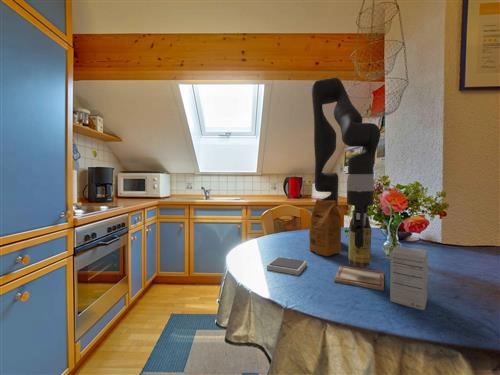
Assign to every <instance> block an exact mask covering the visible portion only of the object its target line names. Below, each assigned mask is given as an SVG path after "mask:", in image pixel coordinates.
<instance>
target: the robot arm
mask: <svg viewBox="0 0 500 375" xmlns="http://www.w3.org/2000/svg"><path fill="white" fill-rule="evenodd" d="M311 98H312V100H311V101H312V109H313V127H314V128H313V130H314V131H313V136H314V137H313V146H314V188H315V189H314V190H315V191H316V192H318V193H320V192H321V193H330V194H329V195H328V196H326V197H324V198H321V199H320V198H319V199H320V200H322V201H337V204H336V206H337V209H338V210H339V205H338V204H339V200H338V199H339V197H338V196H339V192H338V191H339V175H338V173H336V172H323V171H324V167H325V165H326V164H327V163H328V161H329V160H330V159H331V158H332V156H333V154H334V153H335V152H336V148H337V133H336V132H337V131H336V130H335V128H334V127H333V126H332V125H331V123H330V122H329V120H328V119H327V117H326V116H325V114H324V110H323V105H327V104H333V103H336V104H335V106H334V108H333V117H334V120H335V121H336V123H337V125H338V126H339V128H340V132H341V140H342V142H343V143H344V145H346V146H347V147H350V148H351V147H352V148H353V147H354V148H355V147H356V148H357V147H360V148H361V147H362V149H361V151H360V153H358V154H357V153H356V154H353V155H350V156H349V157H348V159H347V178H346V179H347V180H346V204H347V205H349V206H354V209H355V211H354V209H353V210H352V215H351V216H352V218H353V226H354V230H353V232H354V234H355V246H356V247H362V246H363V233H364V231H363V229H364V227H365V225H366V218H367V213H368V211H367V212H364V206H368V207H371V206H373V205H374V204H375V199H374V197H375V180H374V160H375V156H376V152H377V149H378V146H379V142H380V139H381V130H380V128H379V126H378V125H377V124H375V123H372V122H363V117H362V115H361V113H360V112H359V111H358V110H357V108H356V107H355V106H354V105H353V103H352V101H351V100H350V97H349V95H348V93H347V90H346V88H345V86H344V83H343V82H342V81H341V79H340V78H338V77H330V78H324V79H318V80H315V81H314V82H313V83H312V86H311ZM363 217H364V222H363ZM356 227H361V229H356Z"/></svg>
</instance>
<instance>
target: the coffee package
mask: <svg viewBox="0 0 500 375" xmlns="http://www.w3.org/2000/svg"><path fill="white" fill-rule="evenodd" d="M336 204H337V201H322V200H320V198H316V200H315V203H314V206H313V208H312V209H313V210H312V212H311V213H312V214H311V217H310V225H309V232H308V233H309V234H308V235H309V251H310V252H315V254H317V255H318V256H324V257H330V256H333V255H337V254H340V253H342V248H341V246H342V243H341V242H342V241H341V240H342V217H341V214H340V212H339V208H338V209H337V206H336Z"/></svg>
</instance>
